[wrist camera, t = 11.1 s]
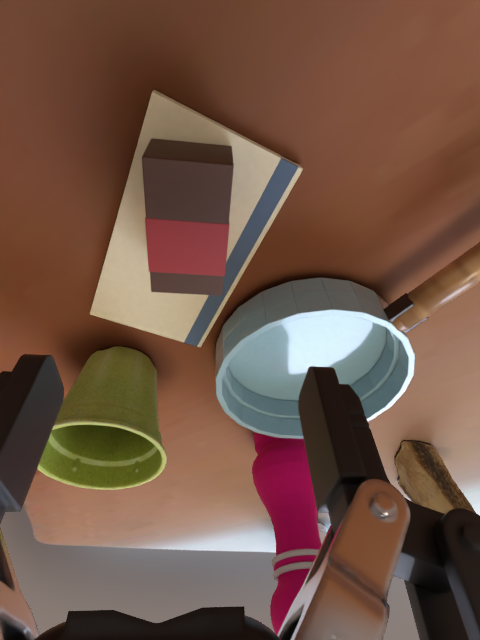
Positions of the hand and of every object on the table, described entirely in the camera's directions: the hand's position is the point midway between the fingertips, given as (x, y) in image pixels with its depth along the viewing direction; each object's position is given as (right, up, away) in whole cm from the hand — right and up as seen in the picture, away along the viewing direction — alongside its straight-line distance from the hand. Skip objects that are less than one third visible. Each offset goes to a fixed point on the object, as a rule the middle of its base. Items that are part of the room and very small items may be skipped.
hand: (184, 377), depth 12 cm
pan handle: (+16, +6, +12) cm, 21 cm away
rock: (+24, -16, +35) cm, 45 cm away
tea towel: (-2, +7, +13) cm, 15 cm away
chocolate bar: (-1, +9, +11) cm, 14 cm away
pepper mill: (+6, -11, +29) cm, 31 cm away
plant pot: (-9, -2, +21) cm, 23 cm away
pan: (+7, -1, +20) cm, 21 cm away
